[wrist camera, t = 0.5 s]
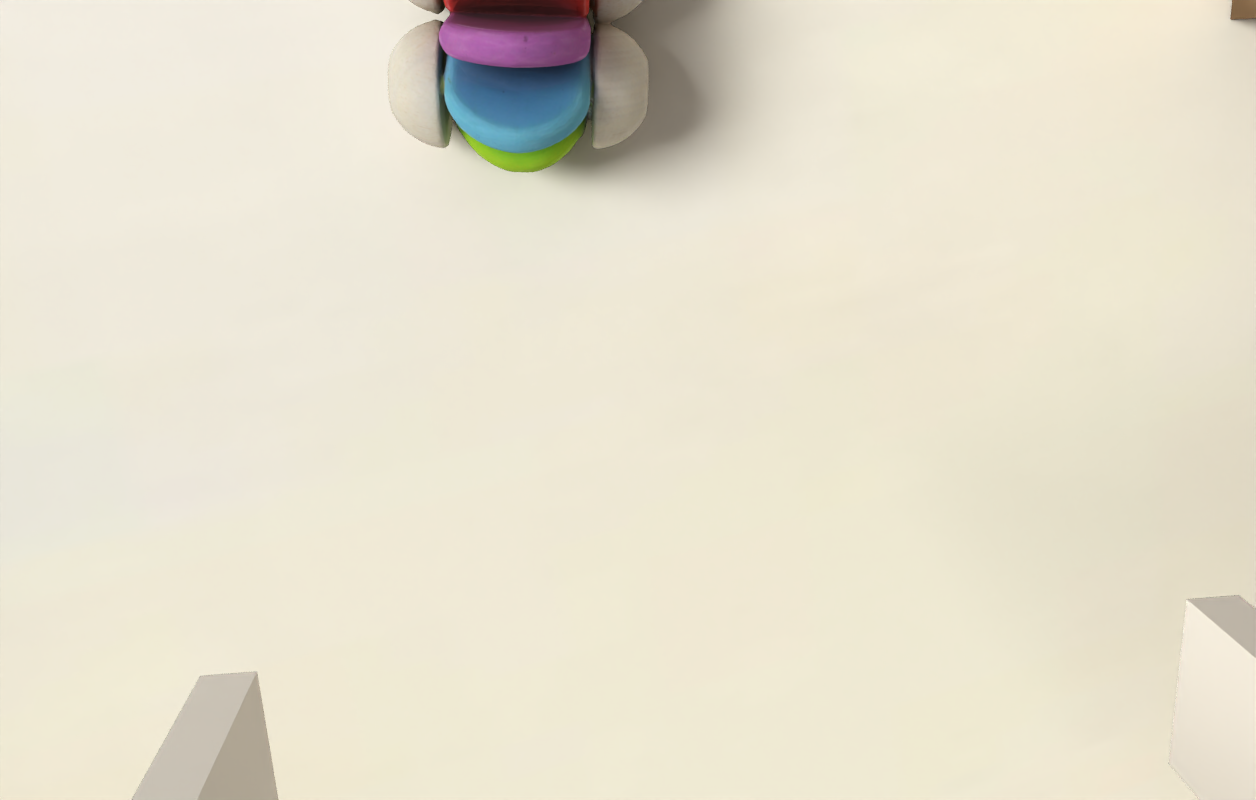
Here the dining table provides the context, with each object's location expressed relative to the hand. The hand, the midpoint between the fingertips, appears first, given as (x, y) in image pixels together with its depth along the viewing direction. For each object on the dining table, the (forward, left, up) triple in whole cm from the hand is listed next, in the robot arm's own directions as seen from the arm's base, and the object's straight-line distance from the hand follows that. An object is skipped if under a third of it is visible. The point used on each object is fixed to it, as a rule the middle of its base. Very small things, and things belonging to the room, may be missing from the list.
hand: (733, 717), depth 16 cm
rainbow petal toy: (-10, -3, -27) cm, 29 cm away
